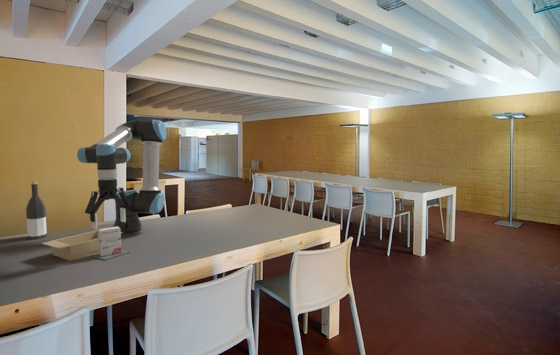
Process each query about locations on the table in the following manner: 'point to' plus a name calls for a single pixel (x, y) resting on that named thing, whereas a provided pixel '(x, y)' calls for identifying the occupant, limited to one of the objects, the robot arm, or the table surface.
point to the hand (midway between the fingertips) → (109, 225)
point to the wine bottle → (36, 215)
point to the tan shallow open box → (75, 245)
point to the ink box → (109, 240)
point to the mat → (109, 255)
